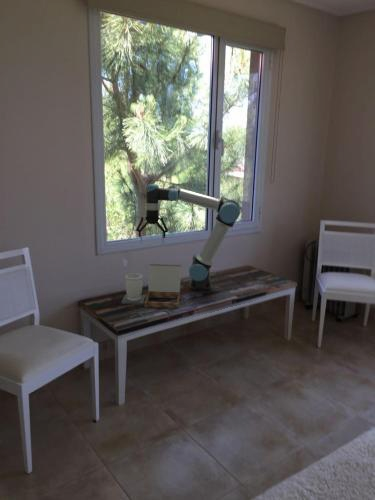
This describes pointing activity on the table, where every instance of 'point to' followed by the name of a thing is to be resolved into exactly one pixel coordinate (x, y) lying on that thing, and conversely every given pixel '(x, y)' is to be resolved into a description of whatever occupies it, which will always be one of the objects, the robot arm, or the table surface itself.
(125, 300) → the slate tile
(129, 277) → the jar
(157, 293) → the cold frame
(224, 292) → the table surface
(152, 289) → the lid
